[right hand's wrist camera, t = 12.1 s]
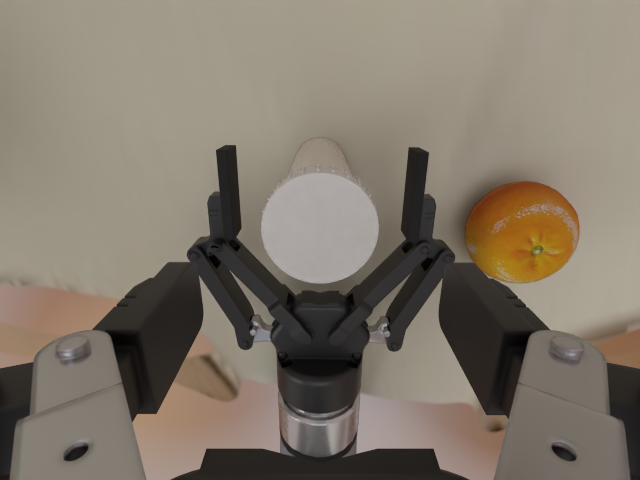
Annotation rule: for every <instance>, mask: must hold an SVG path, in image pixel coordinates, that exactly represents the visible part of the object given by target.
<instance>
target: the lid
mask: <svg viewBox="0 0 640 480" xmlns="http://www.w3.org/2000/svg"><path fill="white" fill-rule="evenodd" d="M370 197H371V195H370V193H369V191H368V189H367V190H365V188H364V187H363V186H362V184H361V182H360V180H359V179H357V180H356V179H355V178H354V177H352V176H351V175H349V174H348V171H345V172H343V171H341V170H339V169H335V168H334V166H332V167H325V166H319V165H317V166H316V167H309V168H305V167H302V169H301V170H299V171H296V172H294V173H293V174H292V173H289V175H288V177H286V178H285V179H284V180H283V181H282V182H280V181H279V182H278V184H277V186H276V188H275V190H274V191H273V193H270V195H269V197H268V198H267V200H268V203H267V205H265V207H264V209H263V211H262V213H263V216H262V222H261V235H262V240H263V243H264V246H265V249H266V251H267V253H268V255H269V256H270V258H271V259H272V261H273V262H274V263H275V264H276V265H277V266H278V267H279V268H280V269H281V270H282V271H284V272H285V273H286V274H288V275H290V276H292V277H293V278H296V279H298V280H301V281H305V282H309V283H331V282H336V281H339V280H342V279H344V278H347V277H349V276H351V275H352V274H354V273H355V272H357V271H358V270H359V269H360V268H361V267H362V266H363V265H364V264H365V263H366V262H367V261H368V259H369V258H370V256H371V255H372V253H373V251H374V249H375V246H376V244H377V240H378V234H379V220H378V216H377V212H376V210H377V208H376V206H375V204H374V202H372V201H371V199H370Z"/></svg>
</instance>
